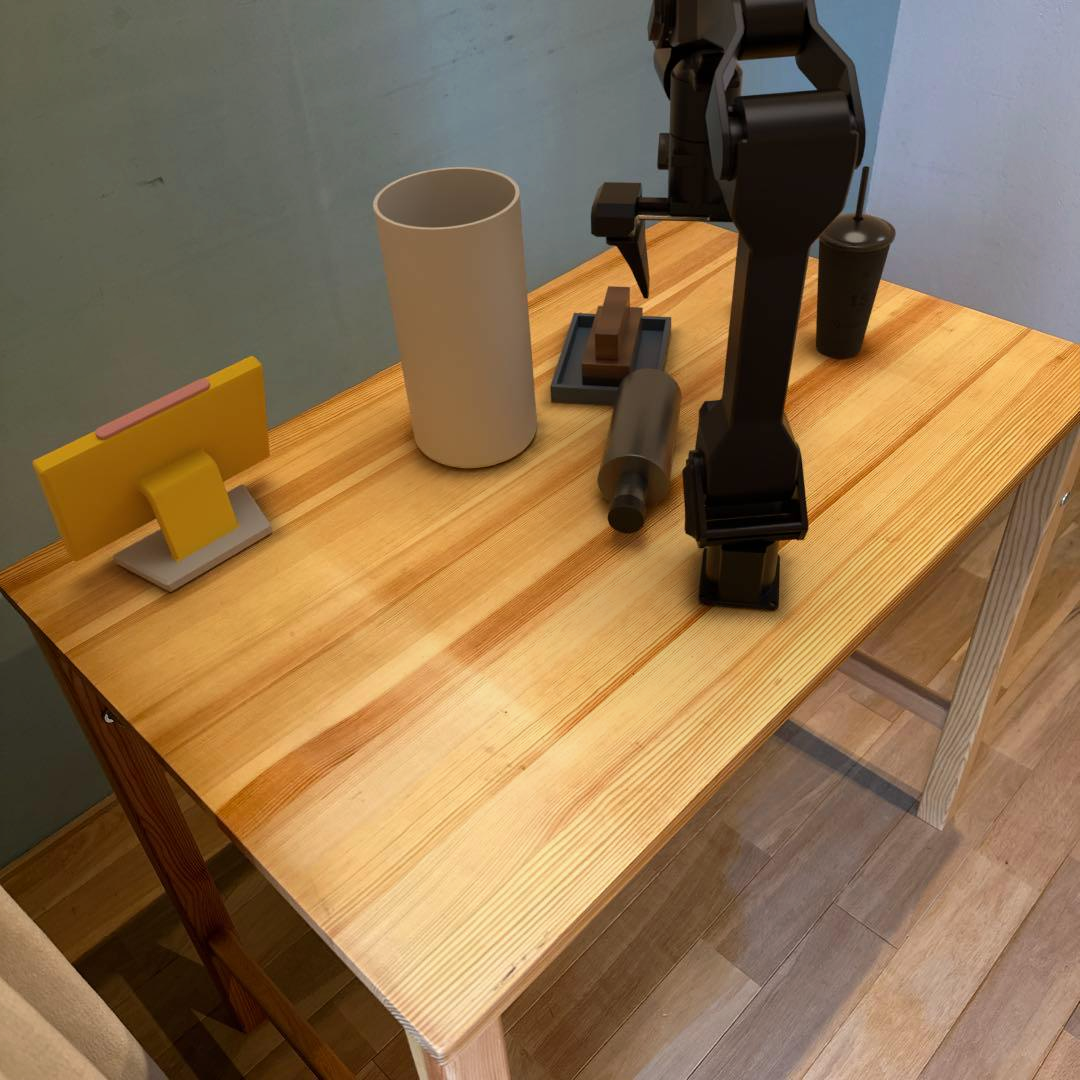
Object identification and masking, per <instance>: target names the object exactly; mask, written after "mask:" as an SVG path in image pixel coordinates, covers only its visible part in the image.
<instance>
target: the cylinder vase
mask: <svg viewBox="0 0 1080 1080" xmlns="http://www.w3.org/2000/svg"><path fill="white" fill-rule="evenodd" d="M521 205H522V204H521V194H520V187H519V185H518V183H517V182H516V181H515V180H514V179H513V178H511V177H510V176H508V175H506V174H503V173H501V172H498V171H495V170H492V169H487V168H482V167H481V168H480V167H468V166H460V167H459V166H458V167H457V166H453V167H452V166H451V167H442V168H434V169H429V170H424V171H420V172H419V171H418V172H415V173H411V174H409V175H406V176H403V177H401V178H399V179H397V180H394V181H392V182H391V183H389V184H387V185H386V186H385V187H383V188H382V189H381V190H380V191H379V192H378V193H377V194H376V195H375V196H374V198H373V205H372V207H373V212H374V218H375V223H376V229H377V235H378V241H379V246H380V252H381V258H382V264H383V269H384V274H385V280H386V285H387V286H386V287H387V291H388V296H389V302H390V307H391V314H392V319H393V326H394V330H395V331H394V332H395V336H396V340H397V347H398V353H399V358H400V363H401V364H400V365H401V370H402V375H403V381H404V387H405V392H406V397H407V404H408V408H409V414H410V421H411V424H412V425H411V426H412V431H413V437H414V440H415V443H416V445H417V447H418V449H419V450H420V452H422V453H423V454H424V455H425V456H427V458H429V459H430V460H432V461H434V462H435V463H439V464H441V465H444V466H448V467H453V468H457V469H458V468H459V469H479V468H480V469H481V468H487V467H491V466H495V465H498V464H501V463H503V462H506V461H509V460H511V459H512V458H515V457H516V456H517V455H519V454H521V453H522V452H524V450H525V449H527V447H528V446H529V445H530V444H531V442H532V441H533V439H534V437H535V434H536V432H537V428H538V417H537V404H536V403H537V402H536V391H535V390H536V389H535V380H534V379H535V378H534V365H533V364H534V363H533V352H532V351H533V350H532V338H531V337H532V336H531V324H530V310H529V300H528V299H529V298H528V285H527V273H526V272H527V271H526V259H525V258H526V257H525V245H524V233H523V232H524V231H523V219H522V206H521Z"/></svg>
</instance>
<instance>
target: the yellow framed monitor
mask: <svg viewBox="0 0 1080 1080" xmlns="http://www.w3.org/2000/svg"><path fill="white" fill-rule="evenodd" d="M264 377H265V376H264V366H263V364H262V363H261V362H260V361H259V360H258V359H257V358H256V357H255V356H254V355H250V356H248V357H246V358H243V359H241V360H239V361H237V362H235V363H233V364H231V365H229V366H227V367H225V368H222V369H221V370H219V371H217V372H214V373H212V374H210V375H208V376H206V377H204V378H199V379H197V380H195V381H193V382H191V383H189V384H187V385H184V386H182V387H180V388H179V389H176V390H174V391H172V392H170V393H168V394H166V395H164V396H161V397H159V398H158V399H156V400H153V401H151V402H149V403H147V404H145V405H143V406H141V407H139V408H137V409H135V410H132V411H130V412H129V413H127V414H124V415H122V416H120V417H118V418H116V419H114V420H112V421H110V422H108V423H106V424H103V425H100V426H99V427H98V428H96V429H95V430H94V431H92V432H90V433H88V434H86V435H83V436H82V437H80V438H77V439H75V440H73V441H72V442H69V443H67V444H65V445H63V446H61V447H59V448H56V449H54V450H53V451H51V452H48V453H46V454H44V455H42V456H40V457H38V458H36V459H34V460H33V461H32V463H31V465H32V467H33V469H34V472H35V473H36V477H37V480H38V482H39V484H40V487H41V489H42V492H43V495H44V496H45V500H46V503H47V505H48V508H49V510H50V512H51V515H52V517H53V520H54V522H55V525H56V527H57V530H58V533H59V535H60V537H61V540H62V543H63V546H64V548H65V550H66V552H67V554H68V555H69V556H70V557H71V559H72V560H73V561H74V562H80V561H81V560H83V559H85V558H87V557H89V556H90V555H92V554H94V553H96V552H97V551H99V550H101V549H103V548H105V547H107V546H109V545H111V544H112V543H114V542H115V541H117V540H120V539H122V538H123V537H125V536H127V535H129V534H131V533H133V532H134V531H136V530H138V529H140V528H142V527H144V526H145V525H147V524H149V523H151V522H153V521H154V520H156V521H157V523H158V526H159V528H160V529H157V530H156V531H155V532H153V533H151V534H149V535H146V536H145V537H143V538H142V539H140V540H138V541H136V542H135V543H133V544H130V545H129V546H127V547H125V548H124V549H122V550H120V551H119V552H116V553H115V554H113V555H112V558H113V560H114V562H115V564H117V565H118V566H120V567H122V568H124V569H126V570H128V571H129V572H131V573H134V574H135V575H137V576H139V577H140V578H143V579H144V580H147V581H148V582H150V583H152V584H154V585H156V586H157V587H159V588H162V589H163V590H165V591H167V592H170V593H172V592H174V591H175V590H177V589H179V588H180V587H182V586H184V585H185V584H187V583H189V582H191V581H192V580H194V579H196V578H197V577H199V576H201V575H202V574H204V573H206V572H208V571H209V570H211V569H213V568H214V567H216V566H218V565H220V564H221V563H223V562H225V561H226V560H228V559H229V558H231V557H233V556H235V555H236V554H238V553H240V552H241V551H243V550H245V549H247V548H249V547H250V546H252V545H254V544H255V543H257V542H259V541H260V540H262V539H264V538H265V537H267V536H269V535H271V534H272V533H273V528H272V525H271V523H270V521H269V519H267V517H266V515H265V514H264V513H263V510H262V509H261V508H260V506H259V505H258V503H257V502H256V500H255V499H254V497H253V496H252V494H251V493H250V491H249V490H248V488H247V487H246V486H245V484H240V485H238V486H236V487H234V488H232V489H231V490H228V491H227V489H226V486H225V482H227V481H228V480H230V479H231V478H233V477H235V476H238V475H239V474H241V473H243V472H245V471H246V470H249V469H250V468H252V467H253V466H256V465H257V464H259V463H260V462H263V461H264V460H267V459H268V458H269V457H271V452H270V450H271V449H270V439H269V427H268V414H267V403H266V401H267V400H266V389H265V388H266V387H265V378H264Z"/></svg>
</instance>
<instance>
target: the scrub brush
mask: <svg viewBox="0 0 1080 1080" xmlns="http://www.w3.org/2000/svg"><path fill="white" fill-rule="evenodd" d="M643 311H644V308H643V307H641V306H631V288H630V286H617V285H616V286H615V285H613V286H612V285H608V286H607V289H606V293H605V296H604V299H603V304H602V305H598V306H597V309H596V312H595V314H596V315H595V319H594V322H593V326H592V329H591V333H590V336H589V339H588V343H587V346H586V350H585V353H584V357H583V360H582V385H588V386H607V387H619V385H620V383H621V381H622V380H623V379H624V378H625V377H626V376H627V375H628V374H630V373H632V372H633V371H635V367H636V362H637V358H638V353H639V348H640V344H641V339H642V329H643V320H642V319H643V316H644V314H643Z"/></svg>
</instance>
